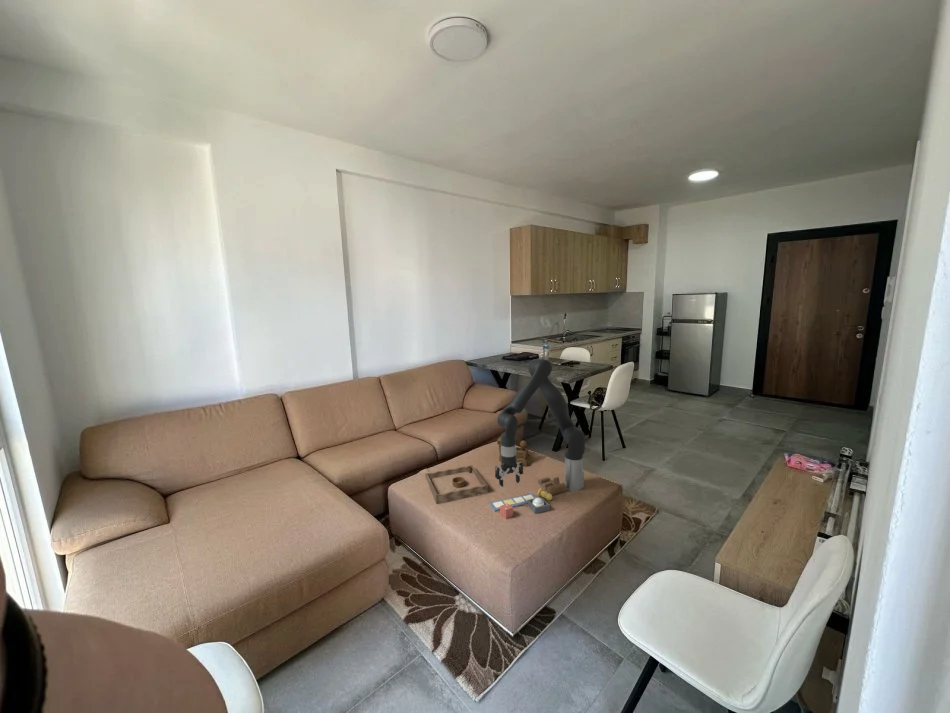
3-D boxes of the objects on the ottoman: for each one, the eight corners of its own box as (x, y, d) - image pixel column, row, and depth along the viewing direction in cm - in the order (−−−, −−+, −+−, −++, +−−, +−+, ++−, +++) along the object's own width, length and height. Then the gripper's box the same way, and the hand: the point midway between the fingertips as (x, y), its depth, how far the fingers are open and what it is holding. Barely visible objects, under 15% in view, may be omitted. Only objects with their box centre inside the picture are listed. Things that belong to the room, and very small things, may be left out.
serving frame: (472, 473, 224) (471, 465, 223) (488, 494, 200) (487, 485, 199) (425, 481, 215) (425, 473, 214) (436, 504, 191) (436, 495, 190)
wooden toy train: (496, 466, 233) (496, 440, 230) (503, 458, 243) (502, 434, 241) (528, 471, 225) (528, 444, 222) (533, 463, 235) (533, 437, 233)
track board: (532, 494, 198) (532, 492, 198) (539, 501, 191) (539, 499, 191) (489, 503, 190) (489, 502, 190) (495, 511, 183) (494, 509, 183)
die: (507, 511, 183) (507, 503, 182) (513, 515, 179) (513, 507, 179) (500, 514, 181) (499, 506, 180) (505, 519, 177) (505, 510, 176)
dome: (540, 503, 189) (540, 494, 188) (546, 509, 184) (546, 499, 183) (530, 505, 187) (530, 496, 186) (536, 511, 182) (535, 502, 181)
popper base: (541, 502, 191) (541, 496, 190) (549, 510, 183) (549, 504, 183) (527, 505, 188) (527, 500, 188) (534, 513, 181) (534, 508, 180)
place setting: (441, 485, 212) (440, 475, 211) (469, 474, 224) (469, 465, 223) (458, 497, 198) (458, 487, 197) (488, 485, 210) (488, 475, 209)
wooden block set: (534, 477, 208) (549, 473, 212) (537, 493, 206) (552, 488, 211) (553, 479, 192) (569, 474, 196) (557, 497, 190) (573, 492, 195)
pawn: (537, 498, 195) (549, 504, 190) (537, 490, 193) (549, 496, 189) (541, 493, 198) (553, 499, 193) (542, 486, 197) (554, 492, 192)
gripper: (518, 447, 191) (519, 478, 194) (492, 453, 186) (493, 483, 189) (525, 453, 184) (526, 484, 187) (498, 458, 179) (499, 490, 182)
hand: (509, 484), depth 188 cm, fingers open, 8 cm apart
